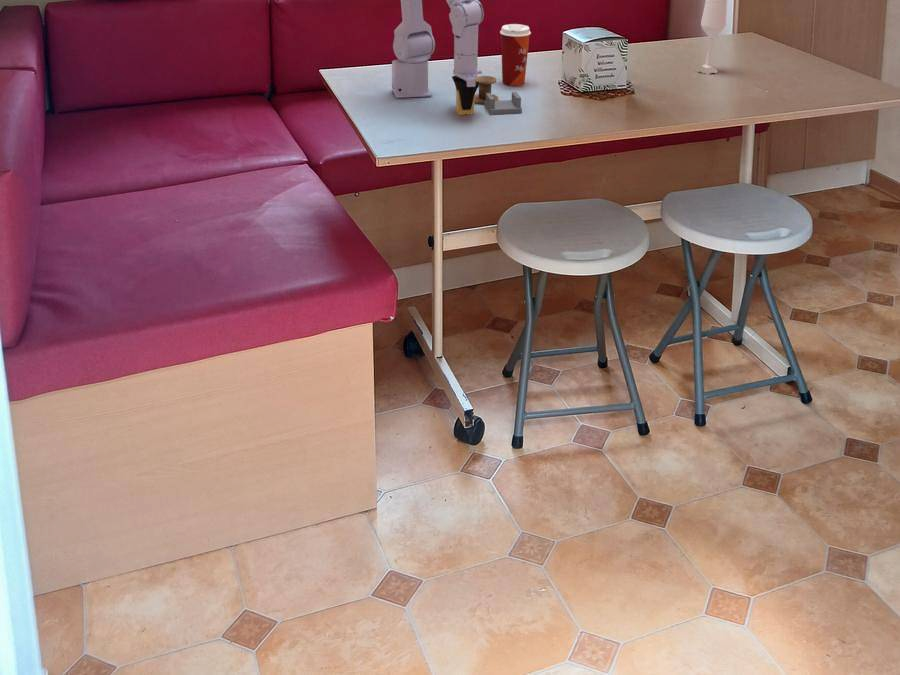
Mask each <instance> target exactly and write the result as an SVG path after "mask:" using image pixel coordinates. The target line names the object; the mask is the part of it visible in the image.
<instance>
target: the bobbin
mask: <svg viewBox="0 0 900 675" xmlns="http://www.w3.org/2000/svg"><path fill="white" fill-rule="evenodd" d="M475 82H479V87H478V93H475V95H474V104H476V105H481V106H482V105H484V106H485V101H486V93H491V94H492V96H493V97H494V98H495V101H499V96H498V95H496V94H493V93H492V85H493V84H496V83H497V78H496V77H493V76H491V75H481V76H480V75H479V76H477V77H476V80H475Z"/></svg>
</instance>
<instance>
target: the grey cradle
mask: <svg viewBox="0 0 900 675" xmlns="http://www.w3.org/2000/svg"><path fill="white" fill-rule="evenodd" d="M492 94H493V93H492V92H491V93H486V101H485V105H484V108H485V109H486V111H487V112H488V113H489V115H490V116H491V115H492V114H493V115H508V114H512V115H513V114H522V111H523V110H522V109H523V108H522V107H521V106H522V97H521V96H520V94H518V92H517V91H512V92H511V99H508V100H498V101H495V98H494V97H493V96H492ZM493 115H492V116H493Z"/></svg>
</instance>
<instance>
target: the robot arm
mask: <svg viewBox="0 0 900 675" xmlns="http://www.w3.org/2000/svg"><path fill="white" fill-rule="evenodd" d="M445 1H446V3H447V4H448V7H449V8H450V13H448V16H449V21H450V23H451V24H450V25H451V28H452V29H451V30H452V34H453V35H454V36H453V39H454V40H453V42H454V43H453V47H454V48H453V51H454V52H453V70H452V73H453V75H452V76H451V78H452V80H453V83H454V86H455V91H456V90H459V93H460V100H461V106H462V110H471V107H472V103H473V98H474V95H475V94H476V92H477V90H478V89H479V82H475V80H476V77H478V75H481V74H482V73H483V70H482V69H481V68H478V60H479V59H478V57H479V56H478V54H479V53H478V52H479V51H478V50H479V25H480V24H481V23H482V22H483V21H484V16H485V12H484V8H483V5H482V3H481V2H480V0H445ZM400 8H401V18H402V20H401V22H400V23H399V25H398V26H397V27H396V28H395V29H394V30H393V34H394V39H393V43H392V49H393V52H394V55H395V56H396V58H397V59H394V60H392V62H391V80H392V81H391V90H392V93H393V95H394V96H395V99H401V98H402V99H404V98H422V97H424V98H426V97H432V93H431V91H430V89H429V59H431V56H432V55H433V53H434V52H435V48H436V42H435V38H434V36H433V32H432V26H431V25H430V24H429V23H428V22H426V21H425V20H424V13H423V10H424V9H423V0H400Z"/></svg>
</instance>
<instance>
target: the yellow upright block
mask: <svg viewBox="0 0 900 675" xmlns="http://www.w3.org/2000/svg"><path fill="white" fill-rule="evenodd" d="M455 113H457V115H458V116H462V115H463V116H466V115H465V114H467V116H468V115H469V114H470V115H475V103H474V98H473V103H472V107H471V110H462V106H461V100H460V93H459V90H456V89H455Z"/></svg>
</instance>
